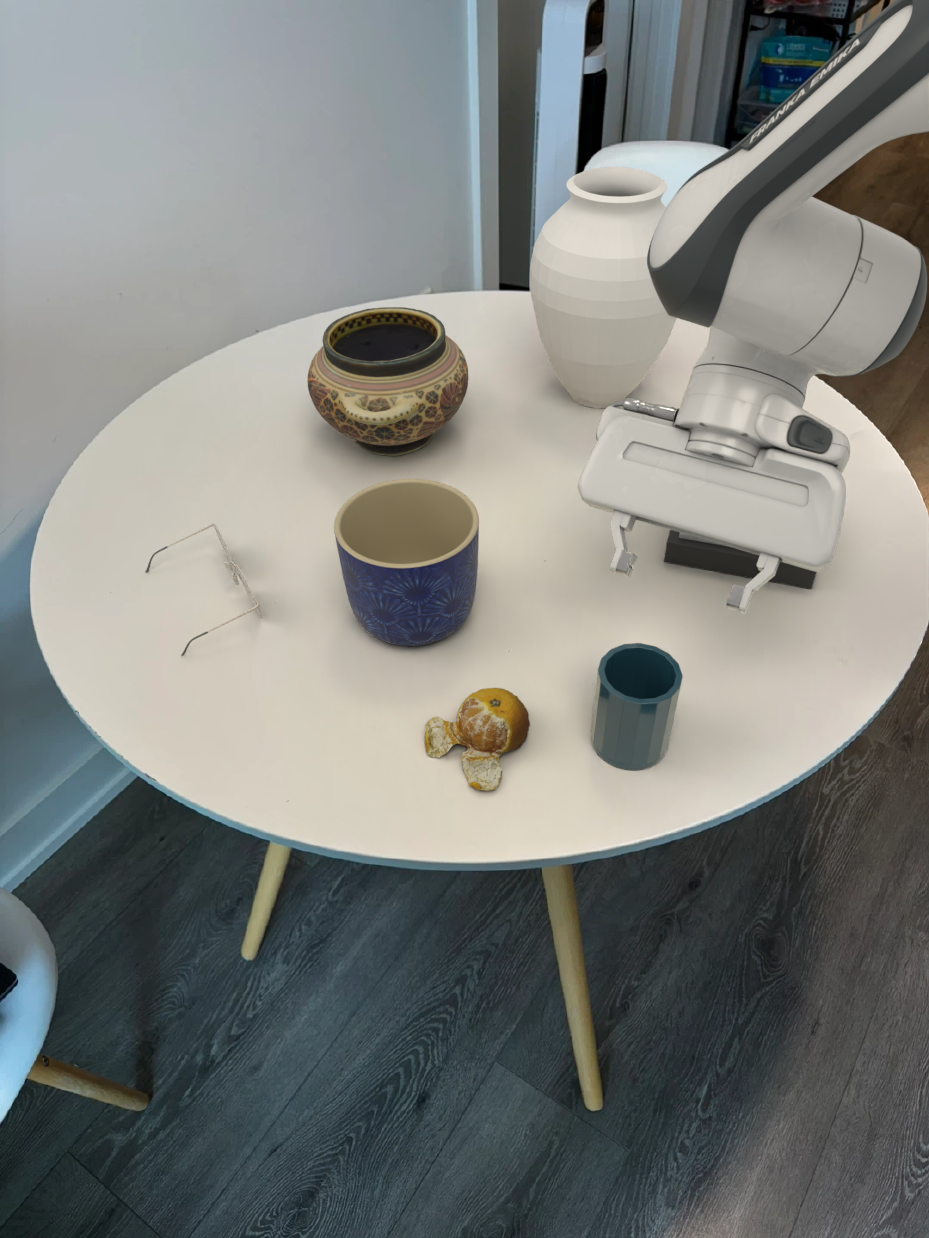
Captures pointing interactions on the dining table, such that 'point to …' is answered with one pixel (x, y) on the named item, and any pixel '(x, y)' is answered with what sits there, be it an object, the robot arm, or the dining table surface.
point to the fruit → (481, 734)
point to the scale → (728, 560)
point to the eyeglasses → (233, 576)
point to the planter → (409, 559)
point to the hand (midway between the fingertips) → (676, 591)
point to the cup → (635, 705)
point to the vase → (601, 284)
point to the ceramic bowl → (388, 378)
